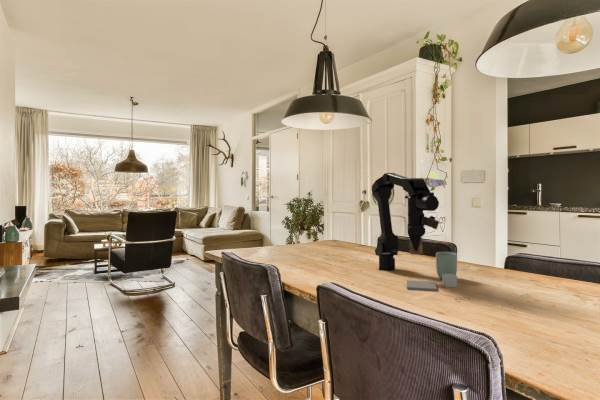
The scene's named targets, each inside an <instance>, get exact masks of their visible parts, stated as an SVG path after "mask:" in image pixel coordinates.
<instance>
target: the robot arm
mask: <svg viewBox="0 0 600 400" xmlns="http://www.w3.org/2000/svg"><path fill="white" fill-rule="evenodd" d="M395 185H396V186H399V187H401V188H402V190H403V191H405V192H406V193H407V194H406V195H405V196H404V199H407V224H406V225H407V235H408V237H409V241H410V240H411V243H412V245H413V247H414V250H415V251H418V247H419V242H420V238H421V237H422V238H423V236H424V235H425V234H426V228H425V226H426V227H429V228H432V229H434V230H437V229H438V227H439V224H440V221H439V220H438V219H437V220H436V216H433V215H430V216H429V217H428V216H425V213H424V211H427V212H434V211H436V210H437V209H438V208H439V205H440V202H439V199H438V197H437V196H435V194H434V193H435V192H431V190H430V189H429V187H428V185H427V183H426V180H425V179H424V178H423V177H407V176H404V175H400V174H397V173H395V172H385V173H384V174H383V175H382V176H380V177H378V178H377V179H375V181H374V182H373V184H372V185H371V191H372V192H371V193H372V196H373V198H374V199H375V201H376V202H377V207H378V216H379V224H380V236H379V237H378V245H377V246H376V248H375V249H374V255H376V256H378V270H380V271H381V270H382V271H395V268H396V258H395V256H398V254H399V249H400V243H399V236H398V235H397V234H395V233H394V231H393V225H392V218H391V208H390V201H389V200H390V198H391V197H392V190H393V189H394V188H395Z"/></svg>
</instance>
